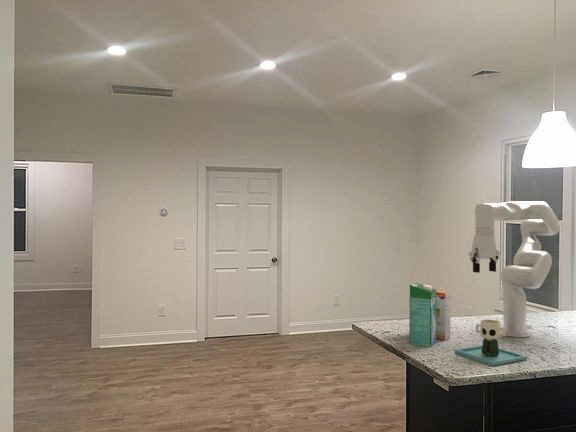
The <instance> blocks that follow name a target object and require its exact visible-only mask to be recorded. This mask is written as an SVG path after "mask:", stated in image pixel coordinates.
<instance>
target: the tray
mask: <svg viewBox="0 0 576 432" xmlns="http://www.w3.org/2000/svg"><path fill="white" fill-rule="evenodd" d="M482 345H483V344H481V345H475V346H469V347H468V346H467V347H462V348H455V349H454V354H456V355H458V356H461V355H462V357H463V358H464V357H465V358H467V359H470V360H473V361H475V362H479V363H482V364H484V365H487V366H491V367H499V366H504V365H509V364H514V363H515V364H516V363H519V362H525V361H528V356H527V355H524V354H522V353H518V352H514V351H510V350H507V349H504V348H501V347H499V355H496V356H491V355H489V353H487V355H485V354H483V353H482Z"/></svg>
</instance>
